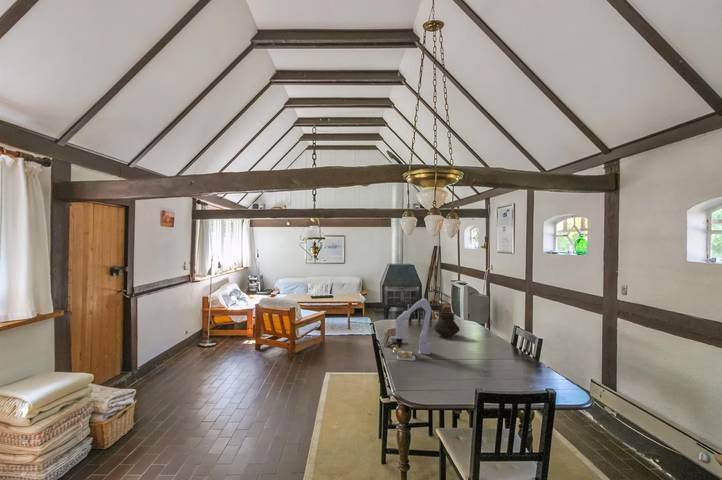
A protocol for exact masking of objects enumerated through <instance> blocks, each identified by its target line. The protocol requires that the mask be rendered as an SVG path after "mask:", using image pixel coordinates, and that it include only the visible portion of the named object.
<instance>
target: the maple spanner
mask: <svg viewBox="0 0 722 480" xmlns="http://www.w3.org/2000/svg"><path fill="white" fill-rule="evenodd" d="M397 355H398V358H401V357H403V358H404V355H406V358H410V355H411V358H412V356H413V352H412V351H408V350H407V351H405V350H402V351H398V354H397Z"/></svg>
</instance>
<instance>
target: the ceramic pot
mask: <svg viewBox="0 0 722 480" xmlns="http://www.w3.org/2000/svg"><path fill="white" fill-rule="evenodd" d="M438 314H439V317H440V318H439V320H438V321H437V322H436V324H435V325H434V327H433V330H434V331H435V333H437V334H439V335H440V336H441V337H443V338H452V337H454V336H455V335H456V334H458V333H459V332H460V331H461V330H460V327H459V325H458V324H457V323H456V321H455V319H454V318H455V316H456V312H451V311H440V312H438Z"/></svg>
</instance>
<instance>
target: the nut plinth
mask: <svg viewBox="0 0 722 480" xmlns="http://www.w3.org/2000/svg"><path fill="white" fill-rule="evenodd" d="M400 351H403V349H400ZM391 354H392V355H398V352H393V348H392V349H391V350H390V355H391Z"/></svg>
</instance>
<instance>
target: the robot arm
mask: <svg viewBox="0 0 722 480" xmlns="http://www.w3.org/2000/svg"><path fill="white" fill-rule="evenodd" d="M419 308H420V309H423V310H424V311H425V314H424V318H423V323H422V324H423V325H422V330H421V333H420V334H419V341H418V355H419V354H420V355H431V352H432V351H431V342H430V341H428V330H429V326H430V320H431V314H432V307H431V305H430V303H429V300H428V299H426V298H425V297H424V298H420V300H418V301H416V302H415V303H414V304H413V305H412V306H411V307H410V308H409V309H408V310H405V311H402V314H400V315H398V317H397V318H395V325H396V326H395V327H396V336H391V338H390V340H391V339H396V341H397V342H396V343H397V345H398V347H399V348H400V349H401V346H402V344H403V340H405V341H406V340H407V341H408V340H409V336H404V326H403V325H404V324H403V323H404V322H405V321H406V320H407V319H408V318H410V317H411V314H412V313H413V312H414V311H416V309H419ZM399 339H400V340H399Z"/></svg>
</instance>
